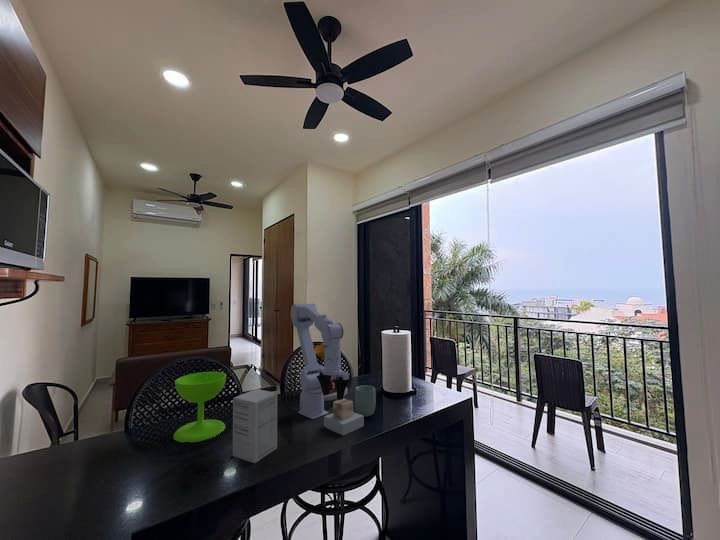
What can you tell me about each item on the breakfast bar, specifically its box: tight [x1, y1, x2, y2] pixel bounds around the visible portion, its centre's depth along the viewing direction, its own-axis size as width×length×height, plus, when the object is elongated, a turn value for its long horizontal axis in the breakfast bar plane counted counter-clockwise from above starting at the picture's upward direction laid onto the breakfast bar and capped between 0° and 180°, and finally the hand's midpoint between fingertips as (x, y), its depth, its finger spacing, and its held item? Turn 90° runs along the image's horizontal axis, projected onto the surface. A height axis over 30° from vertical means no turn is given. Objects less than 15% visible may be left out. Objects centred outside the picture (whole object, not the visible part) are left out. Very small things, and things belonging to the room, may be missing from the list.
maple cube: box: [332, 397, 354, 420], centre depth 111 cm, size 5×5×5 cm
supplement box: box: [232, 388, 278, 464], centre depth 94 cm, size 10×9×17 cm
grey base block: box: [323, 411, 365, 436], centre depth 111 cm, size 10×10×4 cm
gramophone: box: [314, 342, 348, 402], centre depth 148 cm, size 20×20×25 cm
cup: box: [354, 384, 377, 418], centre depth 121 cm, size 8×8×10 cm
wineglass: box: [172, 371, 227, 443], centre depth 108 cm, size 16×16×18 cm
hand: (333, 397), depth 111 cm, fingers open, 7 cm apart
